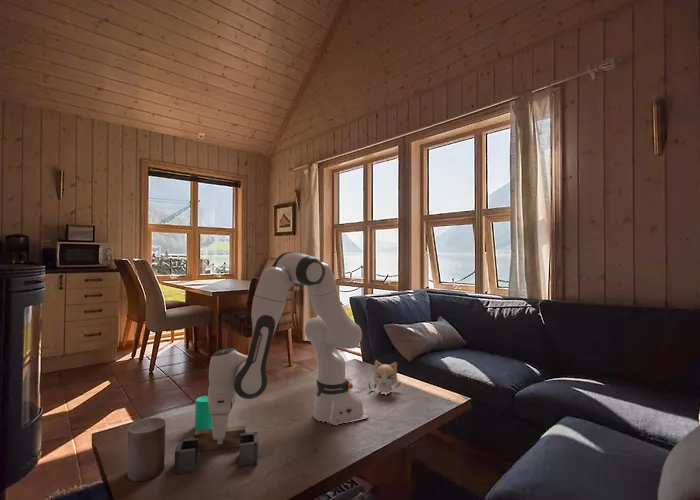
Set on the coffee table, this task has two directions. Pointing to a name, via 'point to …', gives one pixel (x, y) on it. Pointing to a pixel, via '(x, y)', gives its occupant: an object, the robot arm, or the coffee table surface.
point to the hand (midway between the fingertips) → (220, 439)
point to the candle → (202, 414)
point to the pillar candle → (146, 449)
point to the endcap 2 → (248, 449)
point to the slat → (208, 443)
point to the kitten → (385, 376)
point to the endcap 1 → (186, 456)
